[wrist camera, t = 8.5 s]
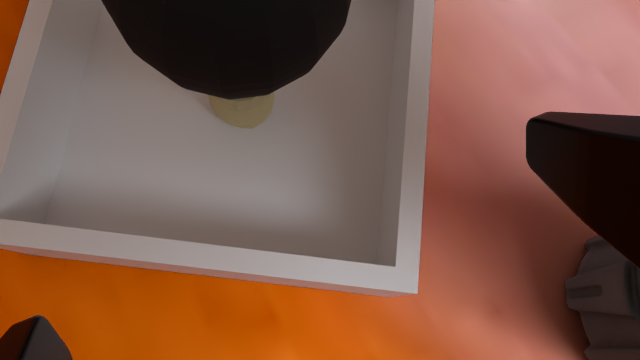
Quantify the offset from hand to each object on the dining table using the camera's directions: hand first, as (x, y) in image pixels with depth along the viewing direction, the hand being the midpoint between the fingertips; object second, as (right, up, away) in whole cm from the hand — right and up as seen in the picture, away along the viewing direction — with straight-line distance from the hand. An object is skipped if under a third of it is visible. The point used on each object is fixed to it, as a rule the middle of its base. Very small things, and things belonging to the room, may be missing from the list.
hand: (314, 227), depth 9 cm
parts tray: (-4, +4, +14) cm, 15 cm away
